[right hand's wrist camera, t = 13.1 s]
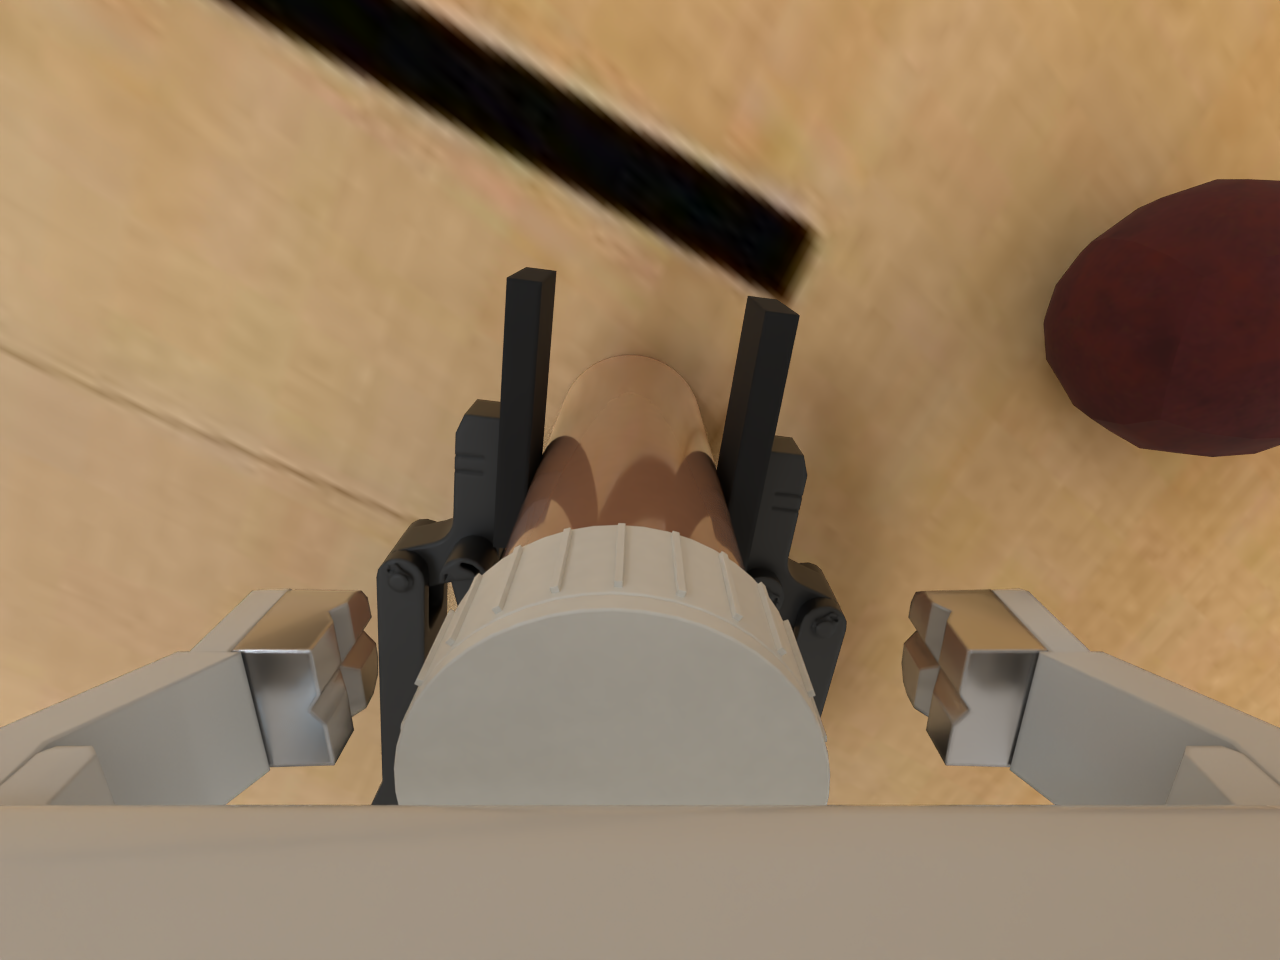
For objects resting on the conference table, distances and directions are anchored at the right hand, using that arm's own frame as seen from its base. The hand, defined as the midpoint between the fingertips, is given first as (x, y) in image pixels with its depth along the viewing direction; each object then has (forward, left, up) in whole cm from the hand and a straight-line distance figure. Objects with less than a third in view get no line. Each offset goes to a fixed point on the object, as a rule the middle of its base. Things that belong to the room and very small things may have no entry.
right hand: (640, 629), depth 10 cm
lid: (+1, 0, +2) cm, 2 cm away
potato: (-2, +16, -15) cm, 22 cm away
